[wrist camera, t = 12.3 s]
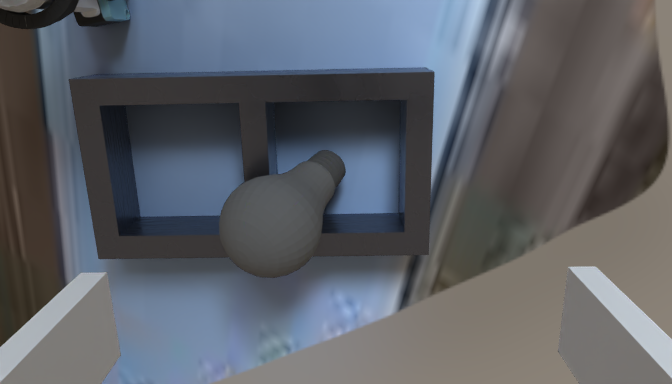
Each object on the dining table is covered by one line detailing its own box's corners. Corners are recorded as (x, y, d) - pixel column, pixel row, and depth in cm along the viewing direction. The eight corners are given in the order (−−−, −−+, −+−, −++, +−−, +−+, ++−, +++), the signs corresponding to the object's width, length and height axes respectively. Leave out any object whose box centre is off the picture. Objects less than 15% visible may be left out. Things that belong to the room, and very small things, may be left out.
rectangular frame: (96, 74, 33) (68, 79, 30) (425, 67, 33) (434, 71, 29) (121, 237, 36) (98, 258, 33) (420, 233, 36) (428, 254, 32)
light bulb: (316, 103, 32) (209, 193, 25) (389, 159, 32) (300, 265, 25) (287, 161, 36) (188, 251, 29) (352, 211, 36) (267, 315, 29)
